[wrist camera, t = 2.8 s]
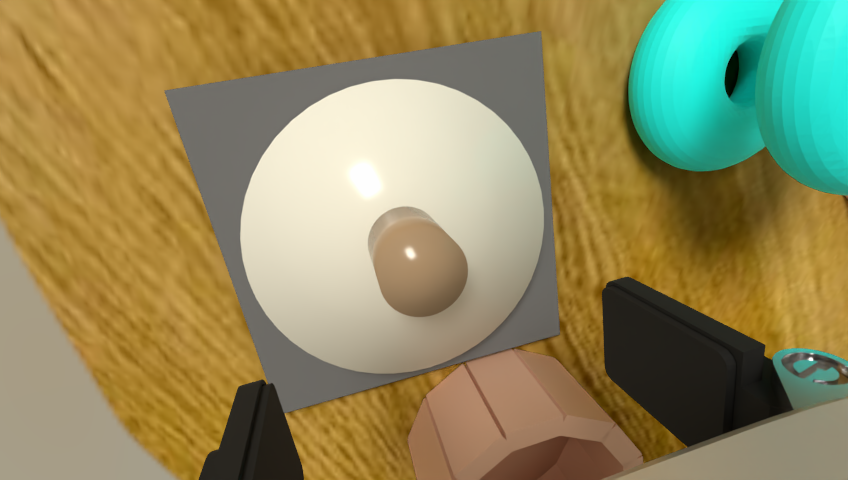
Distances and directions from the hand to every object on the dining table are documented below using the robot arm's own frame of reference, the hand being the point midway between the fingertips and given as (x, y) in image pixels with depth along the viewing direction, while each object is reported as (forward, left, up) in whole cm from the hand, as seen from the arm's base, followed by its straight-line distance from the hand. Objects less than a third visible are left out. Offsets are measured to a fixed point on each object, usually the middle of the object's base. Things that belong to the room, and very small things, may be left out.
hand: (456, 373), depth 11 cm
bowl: (-4, +14, -12) cm, 19 cm away
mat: (0, -1, -12) cm, 12 cm away
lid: (0, -1, -11) cm, 11 cm away
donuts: (-18, -6, -12) cm, 23 cm away
